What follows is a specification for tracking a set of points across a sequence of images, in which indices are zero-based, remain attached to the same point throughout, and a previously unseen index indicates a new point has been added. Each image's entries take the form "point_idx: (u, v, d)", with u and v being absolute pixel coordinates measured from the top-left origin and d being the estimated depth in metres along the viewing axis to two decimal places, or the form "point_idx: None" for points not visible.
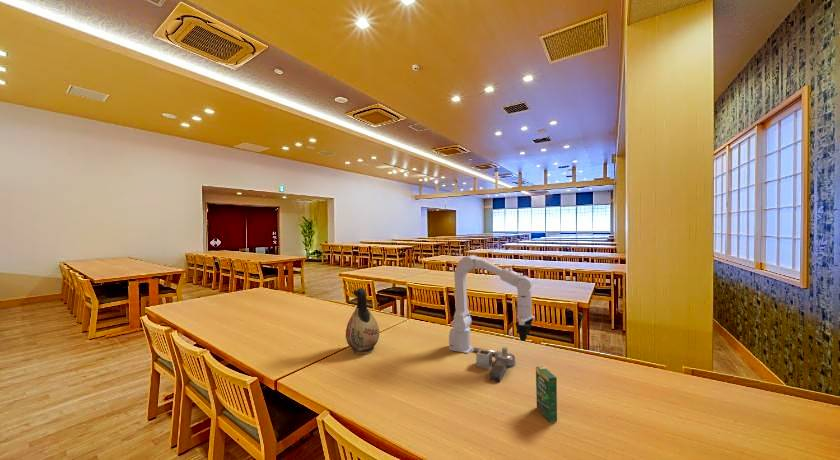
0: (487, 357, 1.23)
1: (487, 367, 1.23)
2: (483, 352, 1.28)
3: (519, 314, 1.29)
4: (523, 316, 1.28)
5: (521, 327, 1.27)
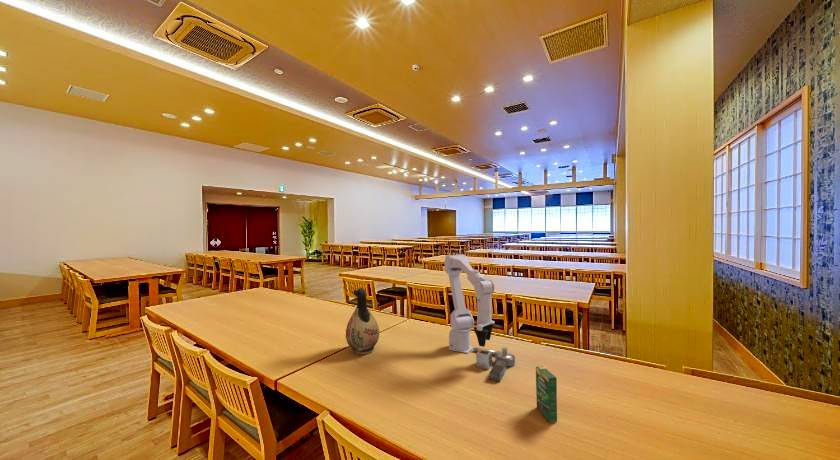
0: (487, 357, 1.23)
1: (487, 367, 1.23)
2: (483, 352, 1.28)
3: (478, 319, 1.25)
4: (482, 321, 1.24)
5: (480, 332, 1.23)
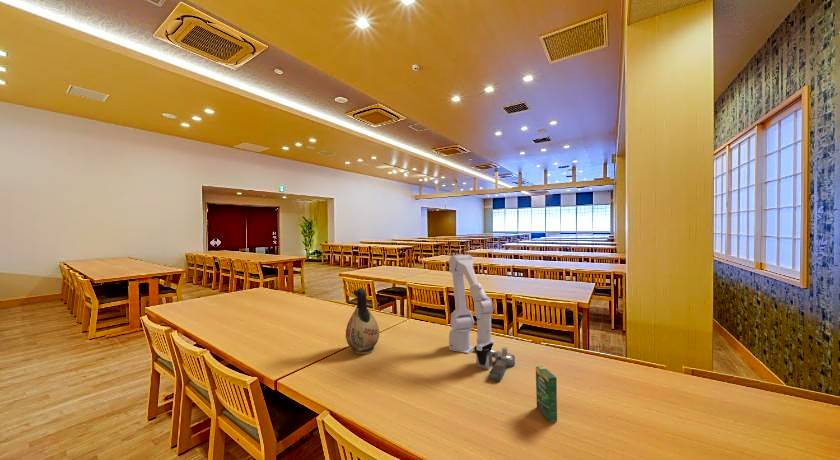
0: (487, 357, 1.23)
1: (487, 367, 1.23)
2: None
3: (478, 338, 1.25)
4: (482, 340, 1.24)
5: (480, 351, 1.24)
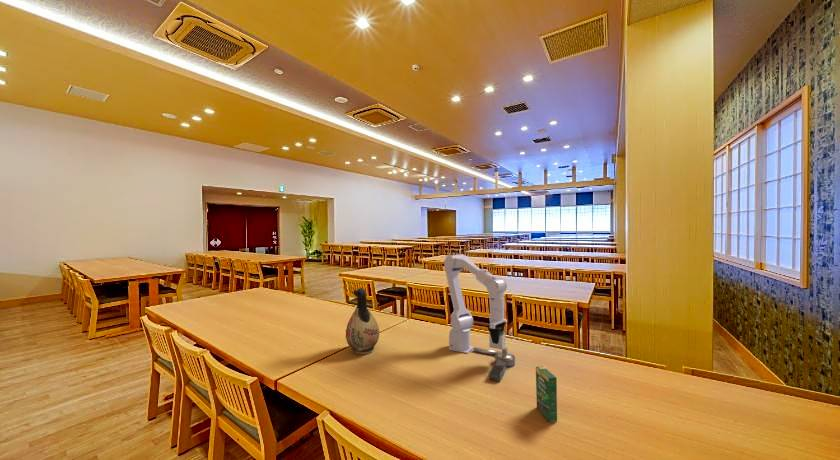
0: (500, 337, 1.24)
1: (500, 347, 1.24)
2: None
3: (491, 317, 1.26)
4: (495, 319, 1.25)
5: (493, 330, 1.25)
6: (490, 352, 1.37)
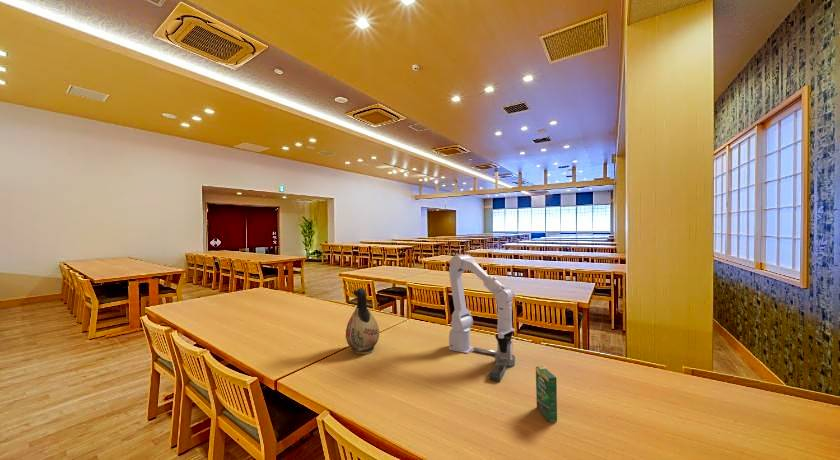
0: (508, 346, 1.25)
1: (508, 356, 1.25)
2: None
3: (499, 327, 1.27)
4: (503, 329, 1.26)
5: (501, 339, 1.26)
6: (490, 352, 1.37)
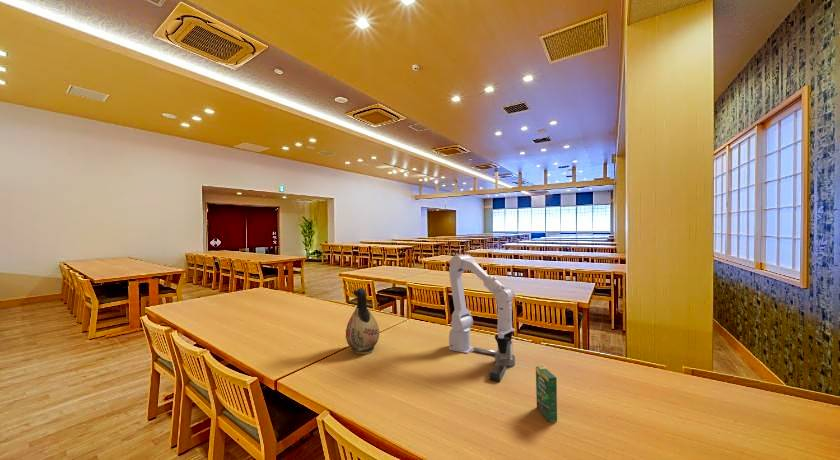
0: (508, 347, 1.25)
1: (508, 356, 1.25)
2: None
3: (499, 326, 1.27)
4: (503, 329, 1.26)
5: (501, 340, 1.25)
6: (490, 352, 1.37)
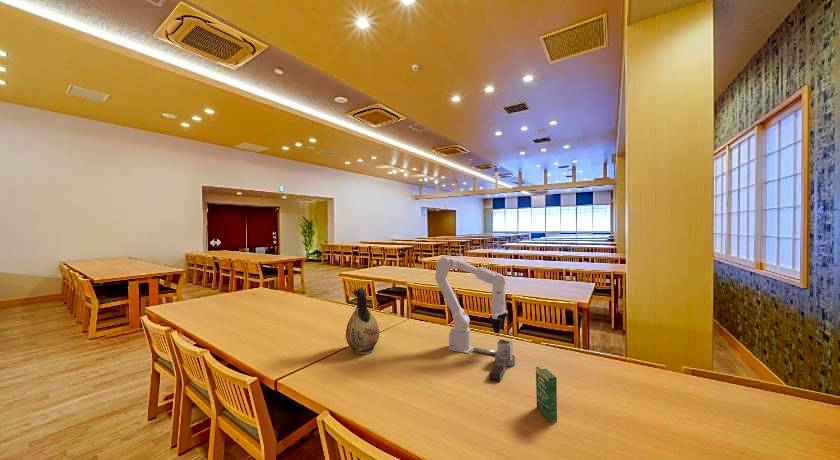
0: (508, 347, 1.25)
1: (508, 356, 1.25)
2: (503, 342, 1.30)
3: (493, 309, 1.38)
4: (497, 311, 1.37)
5: (495, 321, 1.36)
6: (490, 352, 1.37)
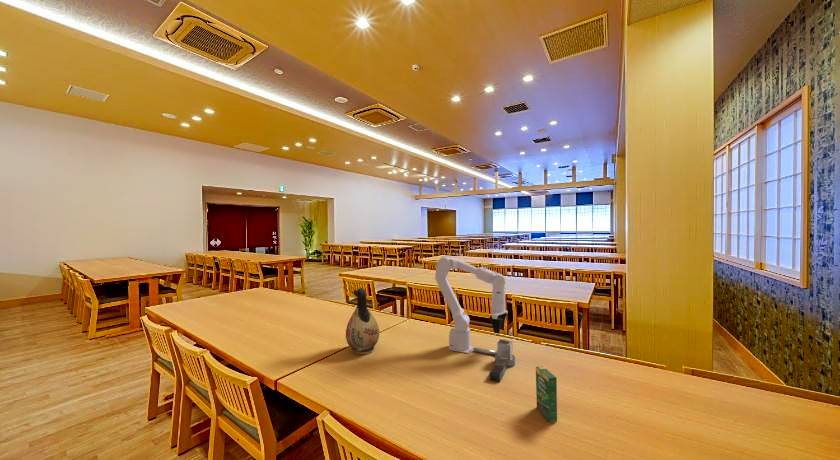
0: (508, 347, 1.25)
1: (508, 356, 1.25)
2: (503, 342, 1.30)
3: (493, 309, 1.38)
4: (497, 311, 1.37)
5: (495, 321, 1.36)
6: (490, 352, 1.37)
